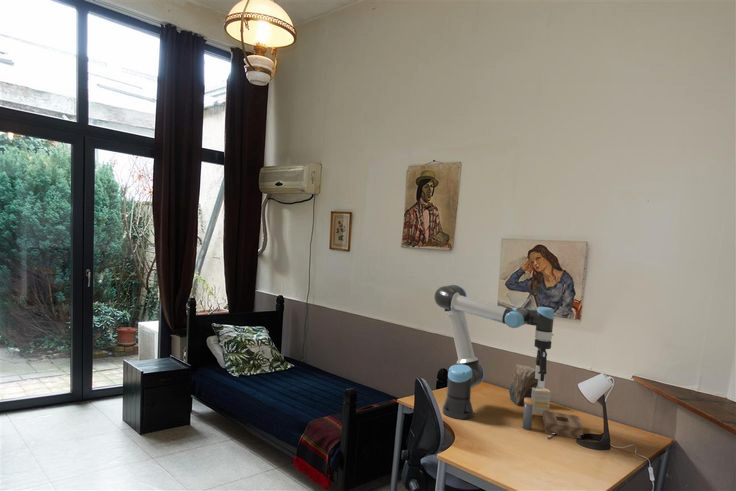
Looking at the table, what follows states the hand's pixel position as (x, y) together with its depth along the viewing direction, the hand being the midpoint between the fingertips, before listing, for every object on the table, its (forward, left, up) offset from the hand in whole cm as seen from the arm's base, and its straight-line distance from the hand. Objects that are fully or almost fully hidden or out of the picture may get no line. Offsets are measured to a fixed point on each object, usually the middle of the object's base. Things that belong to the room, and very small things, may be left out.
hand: (539, 383), depth 220 cm
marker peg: (-5, -6, -21) cm, 22 cm away
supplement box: (+2, +16, -21) cm, 27 cm away
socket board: (+11, 0, -21) cm, 24 cm away
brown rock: (-7, +30, -21) cm, 37 cm away
